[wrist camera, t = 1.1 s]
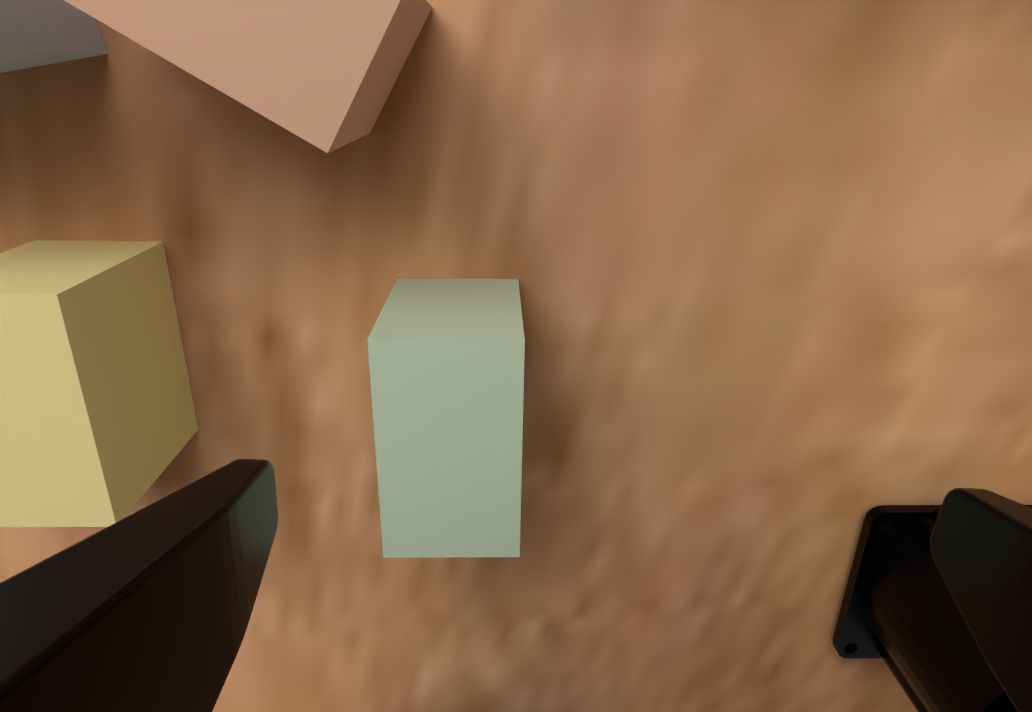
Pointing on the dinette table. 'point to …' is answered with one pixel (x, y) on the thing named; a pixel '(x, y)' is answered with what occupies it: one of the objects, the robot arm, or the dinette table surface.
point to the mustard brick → (87, 380)
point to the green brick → (449, 417)
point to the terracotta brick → (282, 54)
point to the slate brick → (45, 34)
